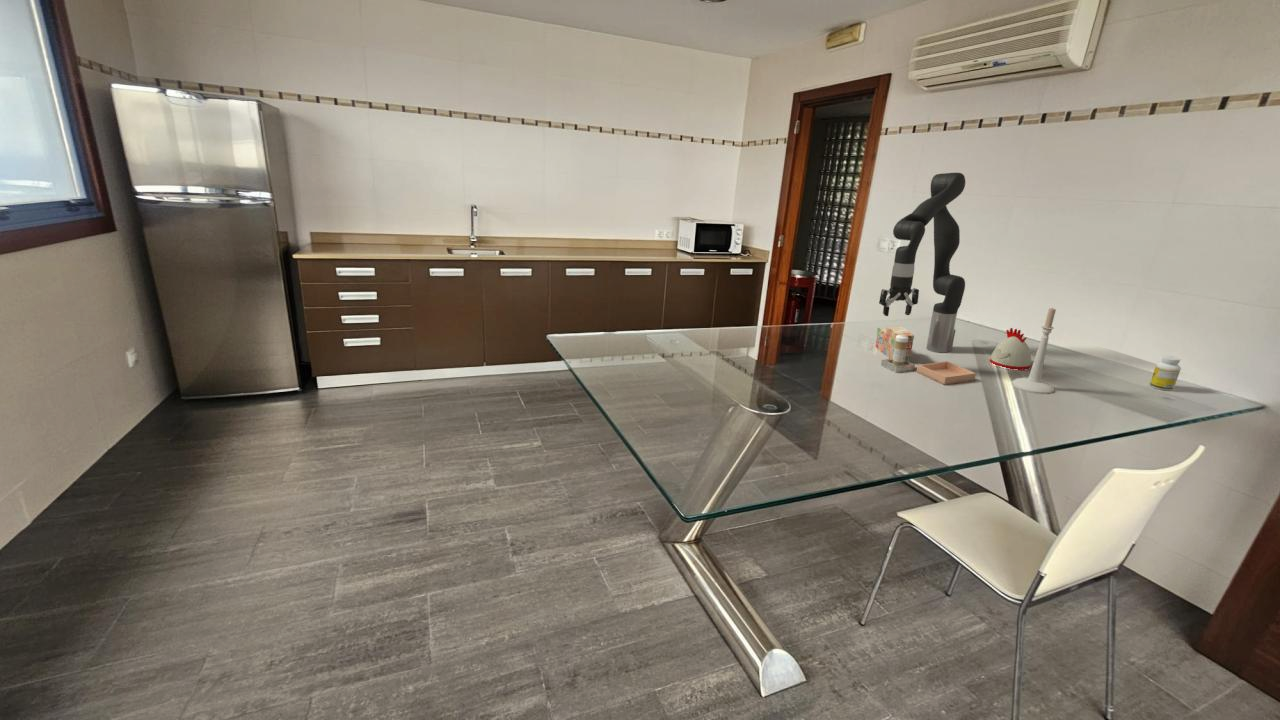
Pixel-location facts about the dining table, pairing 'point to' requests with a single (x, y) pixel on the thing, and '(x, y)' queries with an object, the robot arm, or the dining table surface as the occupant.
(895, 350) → the sprinkles bottle
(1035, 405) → the dining table surface
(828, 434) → the dining table surface
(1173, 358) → the pill bottle
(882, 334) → the colourful printed box
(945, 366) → the tray
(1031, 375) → the candlestick
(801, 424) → the dining table surface
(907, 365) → the grey flat square frame
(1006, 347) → the kitchen timer
